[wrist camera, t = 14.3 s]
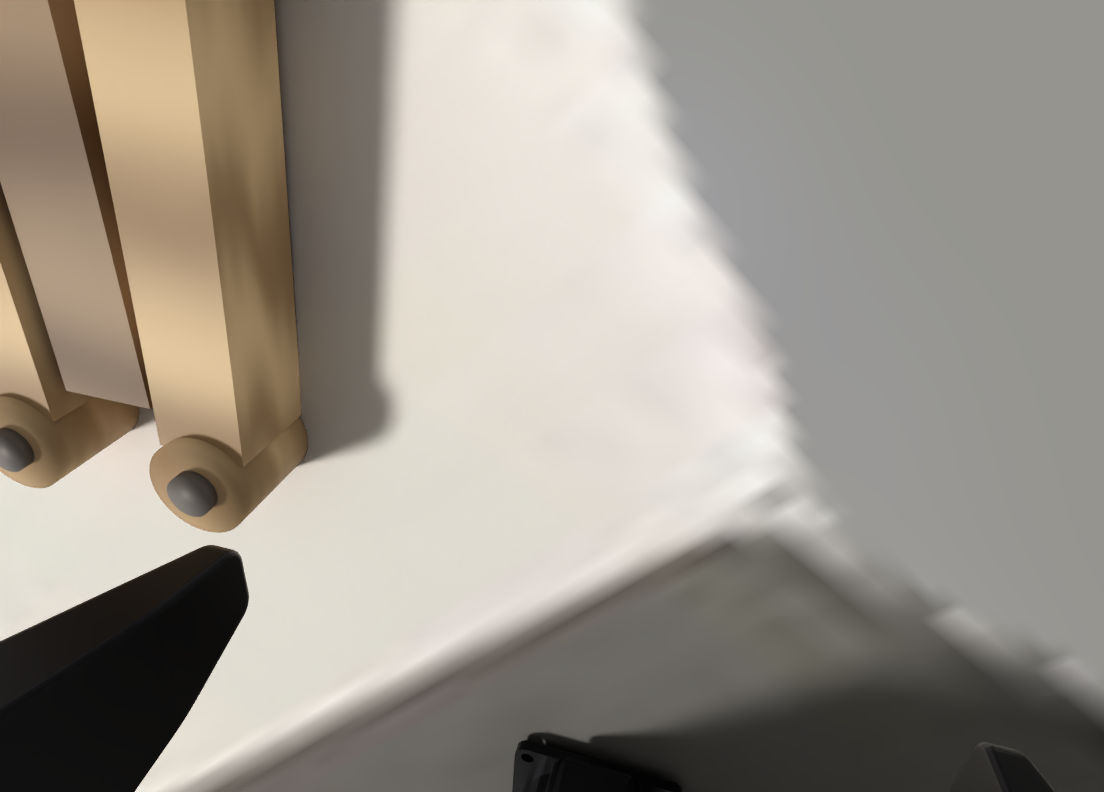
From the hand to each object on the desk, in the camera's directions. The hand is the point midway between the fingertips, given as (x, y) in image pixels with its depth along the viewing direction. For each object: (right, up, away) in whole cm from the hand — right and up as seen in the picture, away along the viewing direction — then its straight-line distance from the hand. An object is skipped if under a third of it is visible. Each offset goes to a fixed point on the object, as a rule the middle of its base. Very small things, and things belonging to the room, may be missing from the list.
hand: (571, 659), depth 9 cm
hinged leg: (-9, +8, +12) cm, 17 cm away
